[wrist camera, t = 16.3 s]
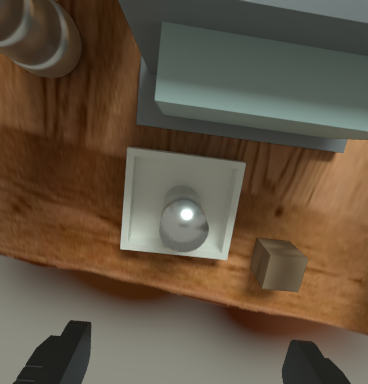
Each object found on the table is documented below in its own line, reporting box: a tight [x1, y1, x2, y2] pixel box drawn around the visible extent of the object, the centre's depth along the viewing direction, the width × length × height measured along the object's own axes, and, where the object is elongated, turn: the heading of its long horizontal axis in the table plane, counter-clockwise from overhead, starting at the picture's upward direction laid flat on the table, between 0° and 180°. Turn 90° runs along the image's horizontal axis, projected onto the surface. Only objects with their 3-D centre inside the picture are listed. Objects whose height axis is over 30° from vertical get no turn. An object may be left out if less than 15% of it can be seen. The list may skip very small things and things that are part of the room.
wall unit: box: [118, 0, 368, 153], centre depth 18 cm, size 24×7×16 cm, turn 83°
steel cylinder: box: [159, 186, 209, 252], centre depth 24 cm, size 4×4×8 cm
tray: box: [120, 146, 246, 260], centre depth 27 cm, size 13×12×2 cm
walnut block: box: [250, 238, 308, 292], centre depth 28 cm, size 4×4×4 cm
